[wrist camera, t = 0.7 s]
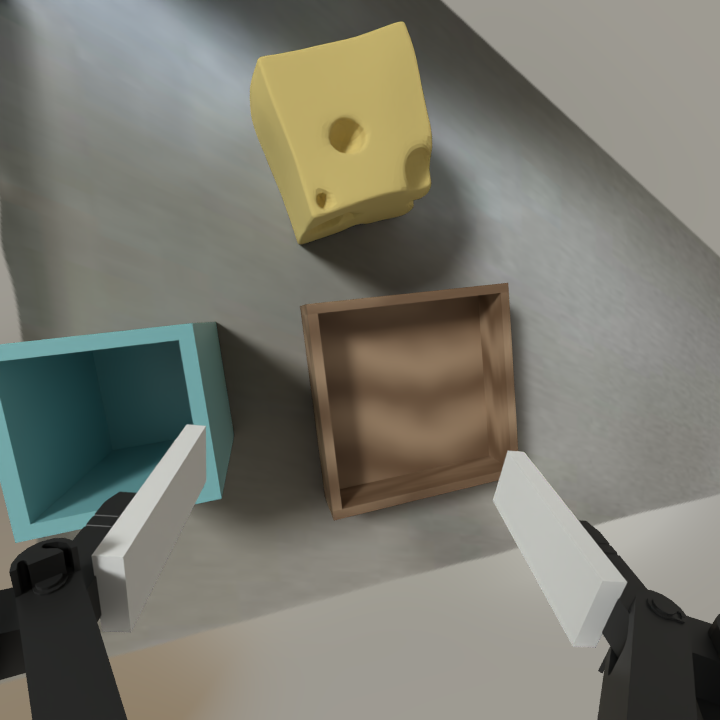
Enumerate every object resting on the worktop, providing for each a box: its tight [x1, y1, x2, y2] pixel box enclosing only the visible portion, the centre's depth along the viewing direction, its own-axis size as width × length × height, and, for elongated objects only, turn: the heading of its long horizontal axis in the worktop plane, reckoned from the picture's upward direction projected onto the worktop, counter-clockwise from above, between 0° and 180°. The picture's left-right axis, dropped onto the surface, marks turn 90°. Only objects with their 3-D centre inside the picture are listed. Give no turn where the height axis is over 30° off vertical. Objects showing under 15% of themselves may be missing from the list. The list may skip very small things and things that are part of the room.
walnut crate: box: [300, 283, 518, 520], centre depth 36 cm, size 18×18×4 cm
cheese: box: [250, 21, 432, 244], centre depth 29 cm, size 10×11×10 cm
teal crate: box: [0, 322, 234, 543], centre depth 26 cm, size 10×10×12 cm
